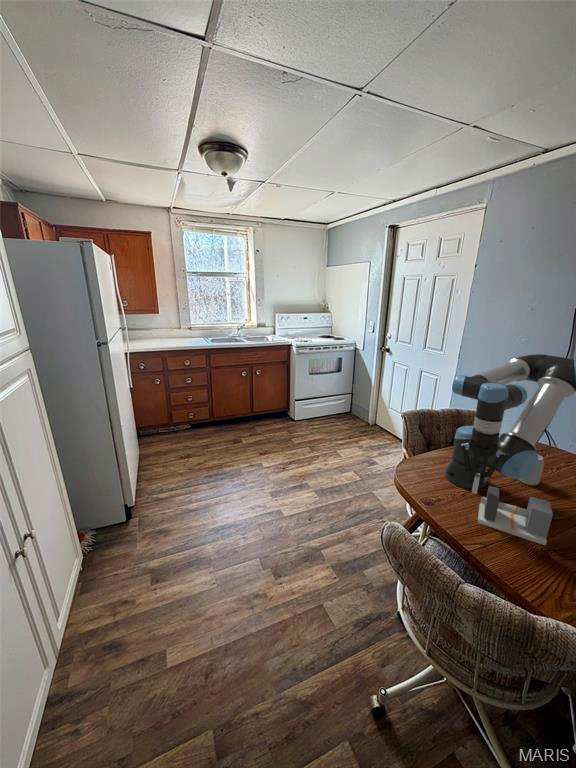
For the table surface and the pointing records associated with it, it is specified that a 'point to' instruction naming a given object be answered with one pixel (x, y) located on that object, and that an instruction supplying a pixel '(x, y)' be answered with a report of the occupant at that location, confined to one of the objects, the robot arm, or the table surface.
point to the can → (534, 473)
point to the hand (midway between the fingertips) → (474, 491)
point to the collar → (491, 503)
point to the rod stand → (521, 519)
